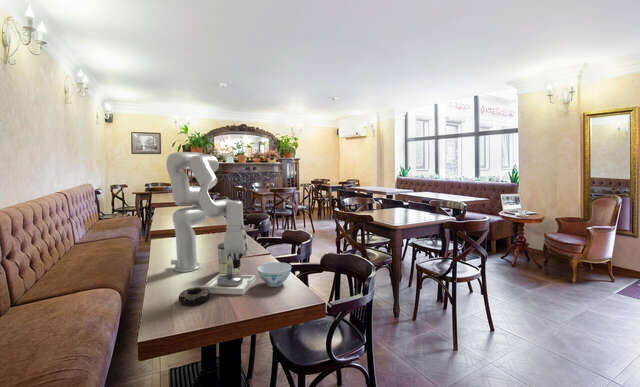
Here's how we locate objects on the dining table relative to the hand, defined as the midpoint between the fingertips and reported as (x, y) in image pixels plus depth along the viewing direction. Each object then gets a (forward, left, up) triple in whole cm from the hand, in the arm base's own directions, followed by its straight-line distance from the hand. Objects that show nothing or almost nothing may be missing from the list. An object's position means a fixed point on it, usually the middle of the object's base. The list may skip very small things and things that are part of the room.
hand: (236, 267), depth 149 cm
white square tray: (-1, -5, -7) cm, 9 cm away
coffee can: (-9, +13, -7) cm, 17 cm away
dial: (-1, -5, -5) cm, 7 cm away
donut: (-10, -21, -7) cm, 24 cm away
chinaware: (+18, 0, -7) cm, 19 cm away
